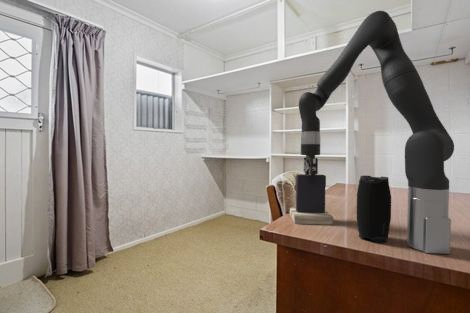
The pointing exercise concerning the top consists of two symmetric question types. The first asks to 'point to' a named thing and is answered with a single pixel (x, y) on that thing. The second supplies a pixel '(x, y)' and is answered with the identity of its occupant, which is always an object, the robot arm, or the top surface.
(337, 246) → the top surface
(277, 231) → the top surface
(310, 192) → the black rectangular block
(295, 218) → the birch plinth
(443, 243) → the robot arm
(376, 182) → the portable speaker
